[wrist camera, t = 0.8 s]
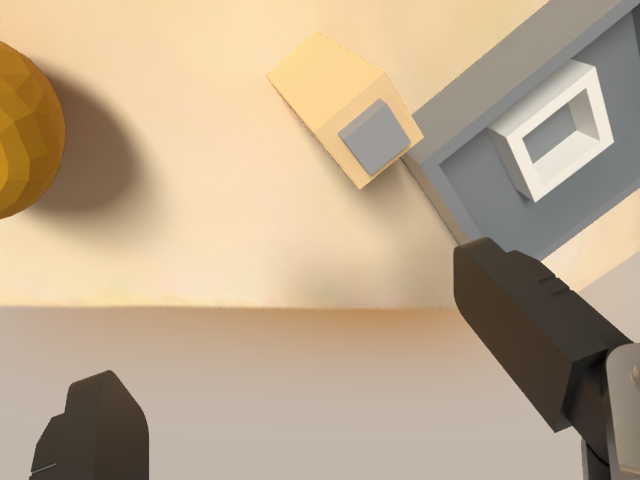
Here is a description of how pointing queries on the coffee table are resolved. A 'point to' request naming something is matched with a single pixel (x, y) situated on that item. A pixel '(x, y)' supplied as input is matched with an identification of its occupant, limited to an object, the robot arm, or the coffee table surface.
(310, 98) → the connector
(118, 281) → the coffee table surface
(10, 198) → the apple
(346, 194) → the coffee table surface
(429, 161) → the box
